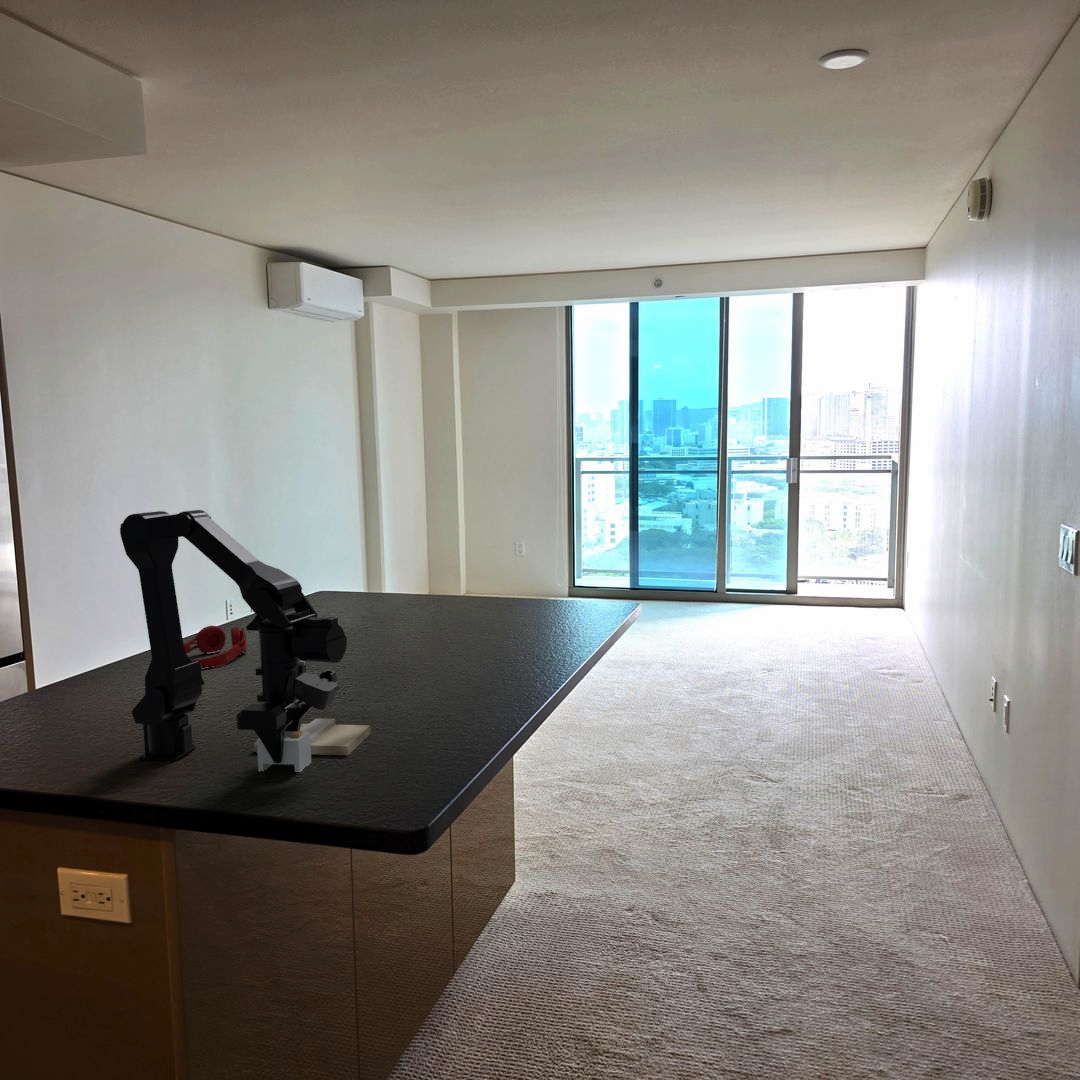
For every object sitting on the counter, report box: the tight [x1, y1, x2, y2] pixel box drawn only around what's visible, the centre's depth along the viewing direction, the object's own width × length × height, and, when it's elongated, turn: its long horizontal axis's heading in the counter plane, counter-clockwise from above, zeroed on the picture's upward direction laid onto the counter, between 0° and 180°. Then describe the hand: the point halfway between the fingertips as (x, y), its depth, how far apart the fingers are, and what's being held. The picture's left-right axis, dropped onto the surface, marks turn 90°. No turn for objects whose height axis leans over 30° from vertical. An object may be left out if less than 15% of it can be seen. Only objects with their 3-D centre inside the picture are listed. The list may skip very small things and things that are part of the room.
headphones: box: [183, 625, 248, 668], centre depth 215 cm, size 15×7×20 cm
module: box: [256, 731, 312, 773], centre depth 141 cm, size 7×4×6 cm
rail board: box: [253, 718, 371, 756], centre depth 152 cm, size 16×11×2 cm
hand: (284, 757), depth 141 cm, fingers closed on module, 4 cm apart
